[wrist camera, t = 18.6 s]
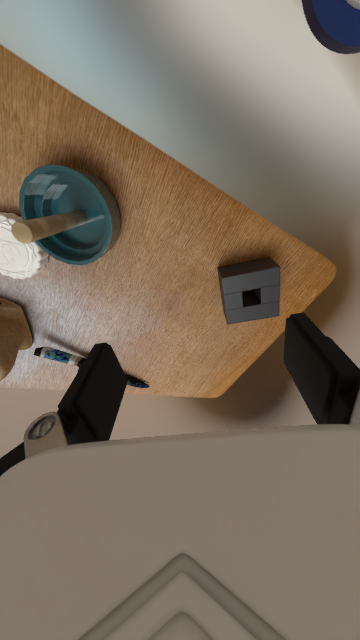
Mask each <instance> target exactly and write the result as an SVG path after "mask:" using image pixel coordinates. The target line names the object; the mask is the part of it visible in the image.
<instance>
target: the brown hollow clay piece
mask: <svg viewBox="0 0 360 640" xmlns="http://www.w3.org/2000/svg"><path fill="white" fill-rule="evenodd" d="M31 346H32V336H31V332H30V329H29V326H28V323H27V321H26V318H25V315H24V312H23V310H22V308H21V307H20V306H19V305H17V304H15V303H14V302H11V301H9V300H7V299H2V298H0V381H1V380H2V379H4V378H5V377H6V376H7V375H8V374H9V372H10V371H11V369H12V368H13V365H14V363H15V360H16V357H17V353H18V350H24V349H28V348H30V347H31Z"/></svg>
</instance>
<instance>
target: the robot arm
mask: <svg viewBox="0 0 360 640" xmlns="http://www.w3.org/2000/svg"><path fill="white" fill-rule="evenodd" d="M346 1H347V3H349V4H350V5H351V6H353V7H354V8H356V9H359V10H360V0H346ZM284 363H285V365H286V367H287V369H288V371H289V373H290V375H291V377H292V378H293V380H294V382H295V384H296V386H297V388H298V390H299V392H300V393H301V395H302V397H303V399H304V401H305V403H306V404H307V406H308V408H309V410H310V412H311V414H312V416H313V418H314V419H315V421H316V423H317V425H300V426H285V427H284V426H283V427H269V428H256V429H243V430H230V431H217V432H204V433H193V434H180V435H169V436H155V437H144V438H134V439H133V438H132V439H121V440H109V439H110V436H111V432H112V429H113V426H114V423H115V420H116V416H117V413H118V410H119V407H120V404H121V400H122V398H123V395H124V391H125V388H126V385H127V378H126V376H125V374H124V372H123V370H122V368H121V366H120V363H119V361H118V359H117V357H116V355H115V353H114V351H113V349H112V347H111V345H108V344H107V343H99V344H95V345H94V347H93V348H92V350H91V352H90V353H89V355H88V357H87V358H86V360H85V362H84V363H83V365H82V367H81V368H80V370H79V372H78V373H77V375H76V377H75V378H74V380H73V382H72V383H71V385H70V387H69V388H68V390H67V392H66V393H65V395H64V397H63V398H62V400H61V402H60V403H59V405H58V408H59V410H58V411H57V413H56V412H49V413H46V414H43V415H42V416H40V417H38V418H37V419H36V420H34V421H33V422H32V423H31V424H30V426H29V427H28V429H27V430H26V432H25V434H24V442H23V443H21V444H20V445H18V446H17V447H16V448H14V449H13V450H11V451H10V452H9V453H7V454H6V455H4V456H3V457H2V458H0V640H360V369H359V368H358V367H357V366H356V365H355V364H354V363H353V362H352V360H351V359H349V357H348V356H347V355H346V354H345V353H344V352H343V351H342V350H341V349H340V348H339V347H338V345H337V344H335V342H334V341H333V340H332V339H331V338H329V337H326V336H325V335H324V334H323V333H322V332H321V331H320V330H319V329H318V328H317V326H316V325H315V324H314V323H313V322H312V321H311V320H310V319H309V318H308V317H307V315H305V313H297V314H291V315H290V317H289V318H287V319H286V328H285V345H284Z"/></svg>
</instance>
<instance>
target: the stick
mask: <svg viewBox="0 0 360 640" xmlns="http://www.w3.org/2000/svg"><path fill="white" fill-rule="evenodd" d="M86 222H87V216H86V214H85V213H84V212H83V211H81V210H76V211H71V212H66V213H61V214H56V215H50V216H45V217H40V218H35V219H30V220H25V221H20V222H15V223H14V224H13V225H12V227H11V231H12V234H13V236H14V237H15V238H16V239H17V240H18V241H19V242H21V243H24V244H28V243H31V242H34V241H37V240H40V239H43V238H46V237H48V236H51V235H54V234H57V233H60V232H63V231H66V230H69V229H72V228H75V227H78V226H81V225H83V224H85V223H86Z"/></svg>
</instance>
